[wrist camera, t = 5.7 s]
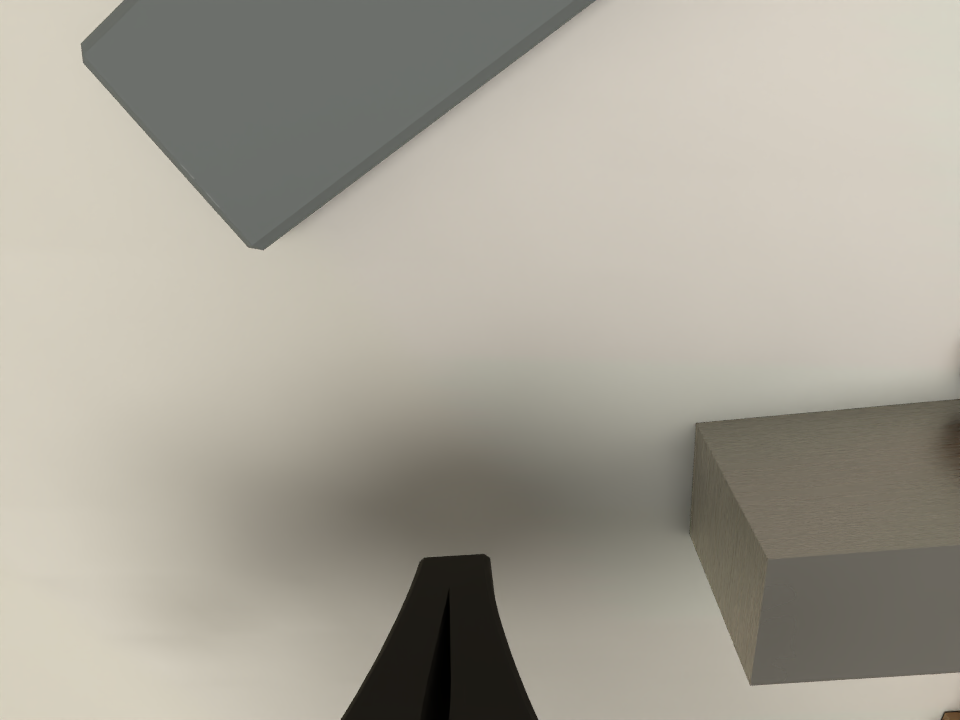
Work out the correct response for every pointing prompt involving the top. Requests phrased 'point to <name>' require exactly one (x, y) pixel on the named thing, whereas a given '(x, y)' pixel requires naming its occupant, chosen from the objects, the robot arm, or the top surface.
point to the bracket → (301, 87)
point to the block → (834, 540)
